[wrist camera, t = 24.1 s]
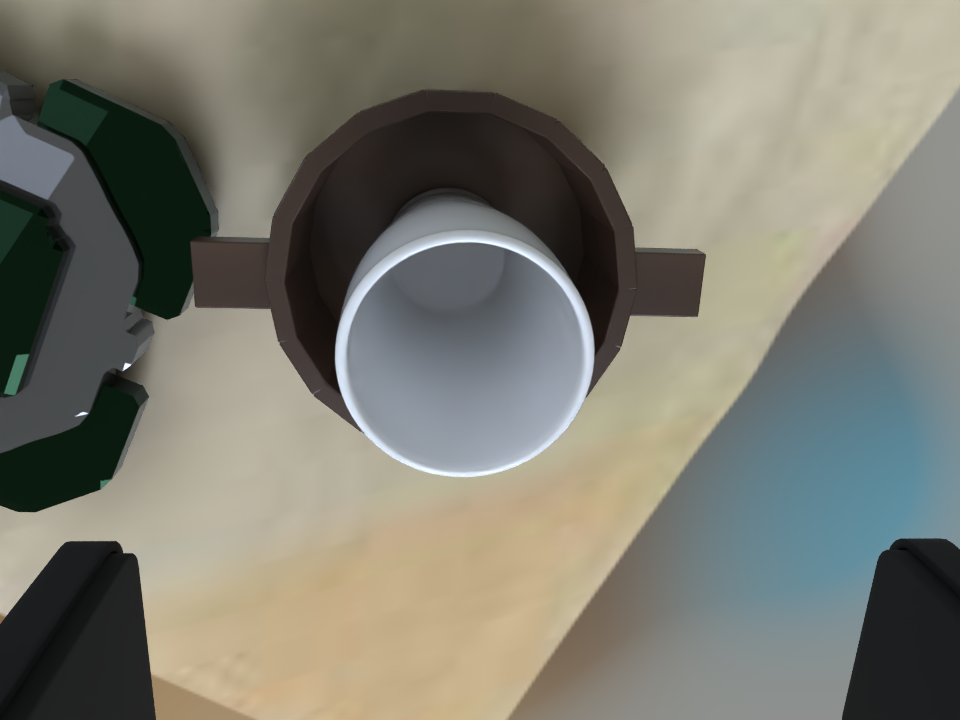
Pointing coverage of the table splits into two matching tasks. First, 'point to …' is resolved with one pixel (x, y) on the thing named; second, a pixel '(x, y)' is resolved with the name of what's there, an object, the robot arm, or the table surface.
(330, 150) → the two-handled cooking pot
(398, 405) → the drinking glass
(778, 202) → the table surface
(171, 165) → the four-lobed dark green device
